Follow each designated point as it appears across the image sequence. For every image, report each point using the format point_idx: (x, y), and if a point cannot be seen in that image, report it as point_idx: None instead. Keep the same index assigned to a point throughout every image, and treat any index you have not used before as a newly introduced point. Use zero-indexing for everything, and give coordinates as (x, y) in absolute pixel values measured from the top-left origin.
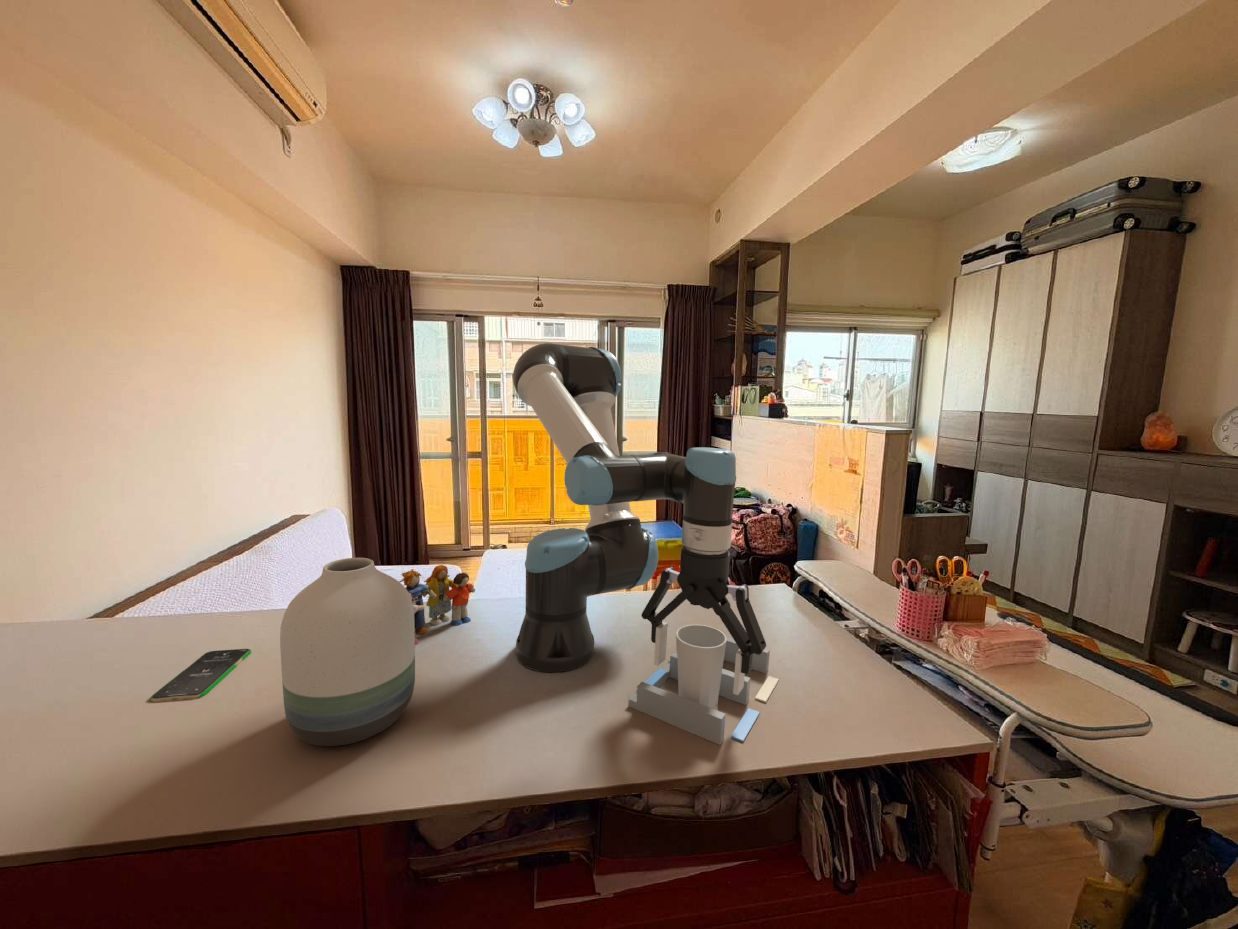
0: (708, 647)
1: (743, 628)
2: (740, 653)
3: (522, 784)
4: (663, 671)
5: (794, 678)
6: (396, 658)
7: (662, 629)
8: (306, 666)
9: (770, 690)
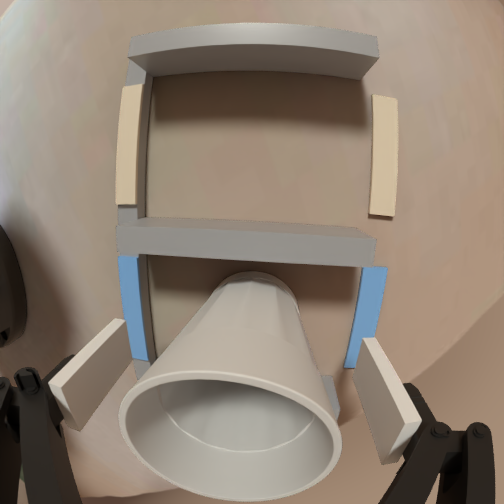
0: (286, 496)
1: (430, 490)
2: (396, 459)
3: (156, 484)
4: (130, 263)
5: (419, 75)
6: (19, 494)
7: (78, 413)
8: None
9: (394, 162)
